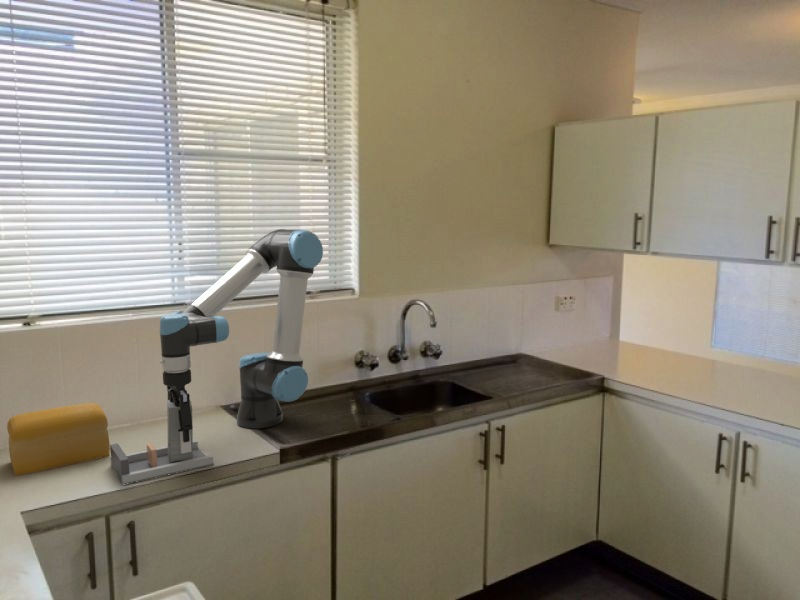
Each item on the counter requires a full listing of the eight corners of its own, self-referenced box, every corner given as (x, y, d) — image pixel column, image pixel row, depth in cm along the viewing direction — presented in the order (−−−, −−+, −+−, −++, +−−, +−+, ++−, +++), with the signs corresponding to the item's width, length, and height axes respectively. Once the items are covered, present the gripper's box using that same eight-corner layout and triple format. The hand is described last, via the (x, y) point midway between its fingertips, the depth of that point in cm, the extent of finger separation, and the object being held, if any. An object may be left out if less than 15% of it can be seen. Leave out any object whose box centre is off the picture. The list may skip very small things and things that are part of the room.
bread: (101, 443, 205) (97, 396, 203) (110, 456, 195) (107, 406, 192) (10, 462, 191) (5, 411, 189) (15, 476, 181) (9, 423, 178)
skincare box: (167, 453, 192) (163, 399, 190) (193, 449, 195) (190, 396, 193) (169, 463, 184) (165, 407, 183) (196, 459, 187) (192, 404, 185)
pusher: (152, 460, 188) (150, 443, 188) (157, 466, 183) (156, 449, 183) (147, 460, 188) (146, 443, 187) (152, 467, 183) (151, 450, 182)
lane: (196, 447, 200) (195, 427, 199) (213, 464, 187) (212, 442, 186) (111, 465, 187) (109, 443, 186) (123, 485, 174) (121, 461, 173)
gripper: (153, 364, 193) (157, 438, 196) (173, 380, 175) (178, 462, 179) (179, 360, 197) (183, 433, 201) (202, 375, 179) (206, 455, 183)
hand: (181, 447), depth 190 cm, fingers closed on skincare box, 9 cm apart
